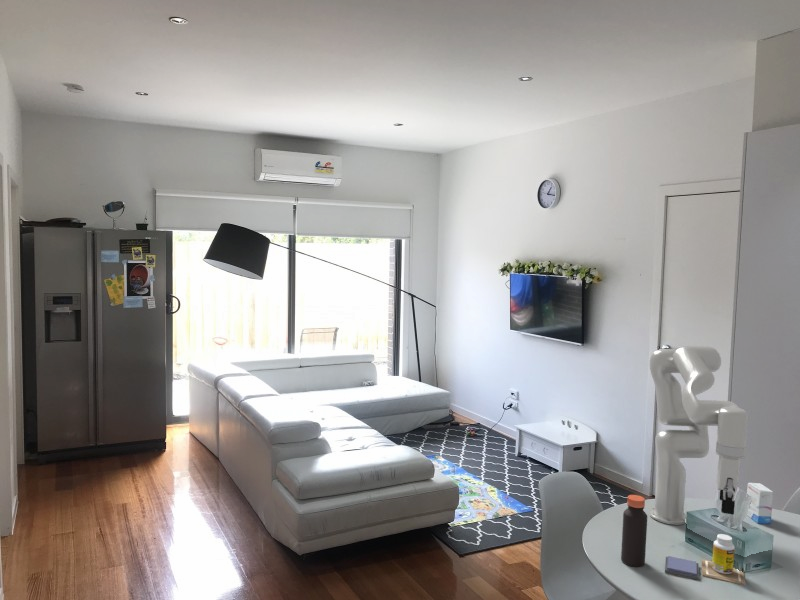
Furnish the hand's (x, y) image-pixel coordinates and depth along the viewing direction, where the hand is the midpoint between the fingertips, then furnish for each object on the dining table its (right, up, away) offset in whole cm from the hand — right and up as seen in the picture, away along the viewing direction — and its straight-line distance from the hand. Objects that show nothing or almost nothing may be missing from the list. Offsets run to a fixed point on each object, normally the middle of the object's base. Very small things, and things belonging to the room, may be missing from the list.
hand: (726, 506), depth 183 cm
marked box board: (0, -20, +1) cm, 20 cm away
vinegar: (-25, -19, +6) cm, 32 cm away
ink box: (+32, -18, +39) cm, 54 cm away
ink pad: (-12, -19, +2) cm, 23 cm away
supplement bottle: (0, -20, +2) cm, 20 cm away
